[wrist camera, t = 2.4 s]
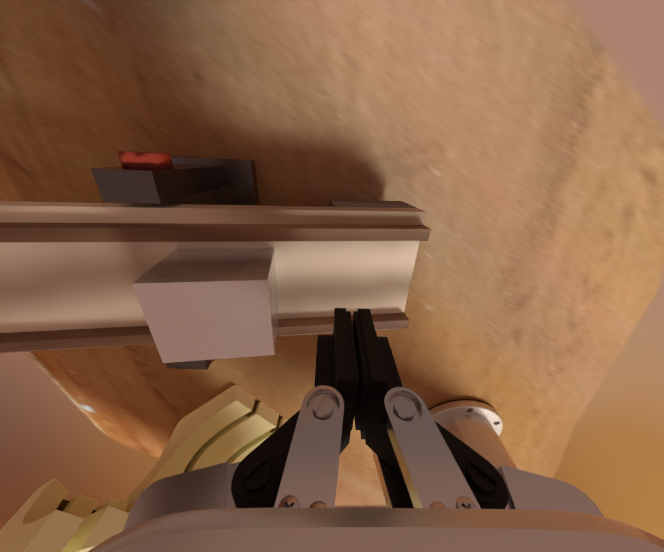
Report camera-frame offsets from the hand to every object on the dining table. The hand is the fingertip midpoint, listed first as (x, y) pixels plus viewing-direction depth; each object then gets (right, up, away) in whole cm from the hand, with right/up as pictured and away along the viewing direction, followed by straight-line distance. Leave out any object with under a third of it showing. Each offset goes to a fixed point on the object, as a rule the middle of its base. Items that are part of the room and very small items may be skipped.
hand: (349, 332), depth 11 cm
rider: (-8, +2, +5) cm, 9 cm away
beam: (-12, +4, +8) cm, 15 cm away
